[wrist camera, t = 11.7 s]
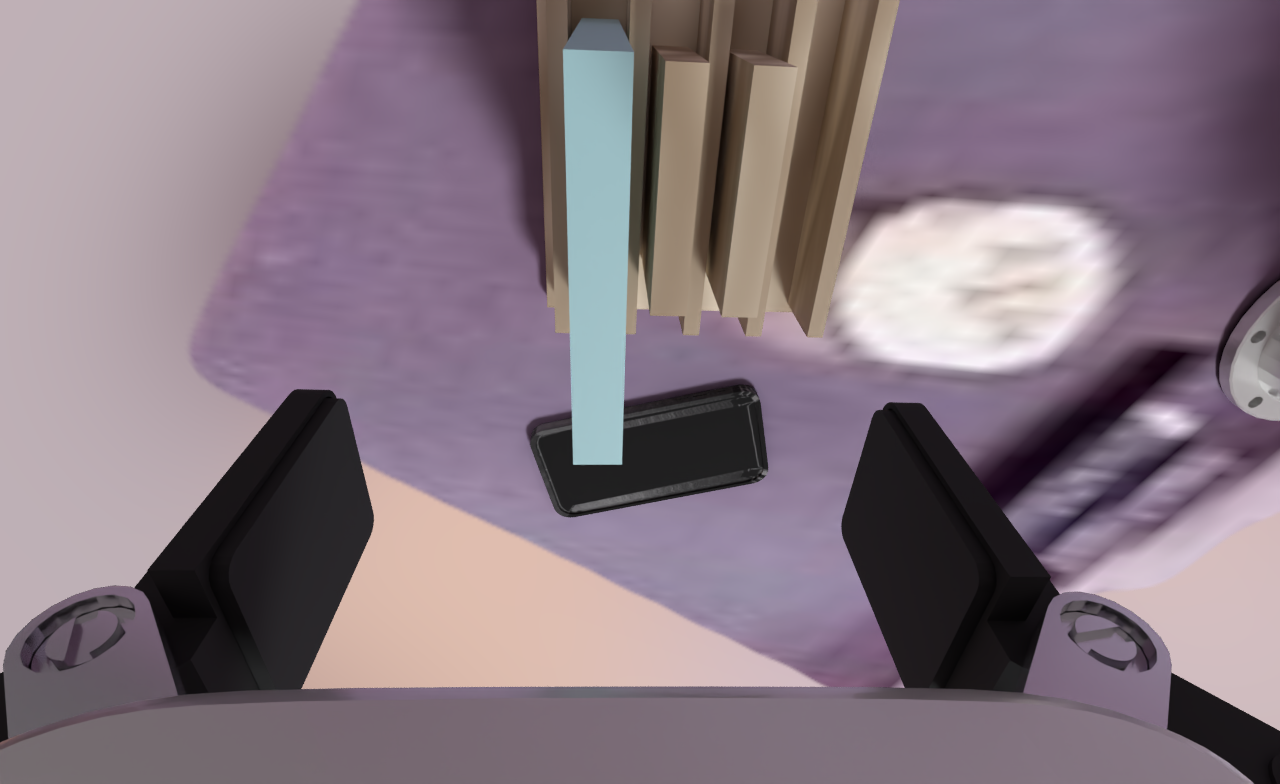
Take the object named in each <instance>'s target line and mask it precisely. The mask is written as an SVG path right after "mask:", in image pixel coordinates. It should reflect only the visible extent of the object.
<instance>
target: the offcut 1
mask: <svg viewBox="0 0 1280 784" xmlns="http://www.w3.org/2000/svg"><path fill="white" fill-rule="evenodd" d="M709 70H710V63H709V62H708V61H707V60H705V59H704V58H702V57H701V56H700V55H698V54H697V53H696V52H694V51H693V50H691V49H690V48H689V47H679V46H659V45H652V64H651V84H650V103H649V123H648V143H647V163H646V183H645V203H644V222H643V242H642V263H643V270H644V277H645V284H646V291H647V298H648V305H649V311H650V316H686V312H687V301H688V291H689V280H690V270H691V259H692V249H693V238H694V228H695V217H696V207H697V196H698V186H699V175H700V165H701V154H702V144H703V133H704V123H705V112H706V102H707V91H708V81H709Z"/></svg>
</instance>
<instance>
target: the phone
mask: <svg viewBox="0 0 1280 784" xmlns="http://www.w3.org/2000/svg"><path fill="white" fill-rule="evenodd" d="M530 445H531V449H532V452H533V454H534V457H535V460H536V462H537V465H538V467H539V470H540V473H541V475H542V478H543V480H544V483H545V486H546V488H547V491H548V493H549V496H550V499H551V501H552V504H553V506H554V509H555V510H556V512H557V513H559V514H560V515H562V516H564V517H577V516H583V515H588V514H593V513H599V512H604V511H609V510H614V509H620V508H625V507H630V506H636V505H641V504H646V503H651V502H657V501H662V500H667V499H673V498H678V497H683V496H689V495H694V494H699V493H704V492H710V491H715V490H720V489H726V488H731V487H736V486H741V485H747V484H752V483H756V482H758V481H760V480H762V479H763V478H764V477H765V476H766V474H767V472H768V461H767V453H766V445H765V436H764V428H763V420H762V411H761V403H760V400H759V397H758V395H757V392H756V391H755V390H754V388H752V387H750V386H747V385H736V386H731V387H726V388H721V389H716V390H711V391H706V392H701V393H696V394H691V395H685V396H680V397H675V398H670V399H665V400H660V401H655V402H650V403H645V404H640V405H635V406H630V407H625V408H624V412H623V447H622V465H573V438H572V418H570V419H565V420H560V421H555V422H550V423H545V424H542V425H539V426H538V427H536V428H535V429H534V431H533V432H532V436H531V443H530Z"/></svg>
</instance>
